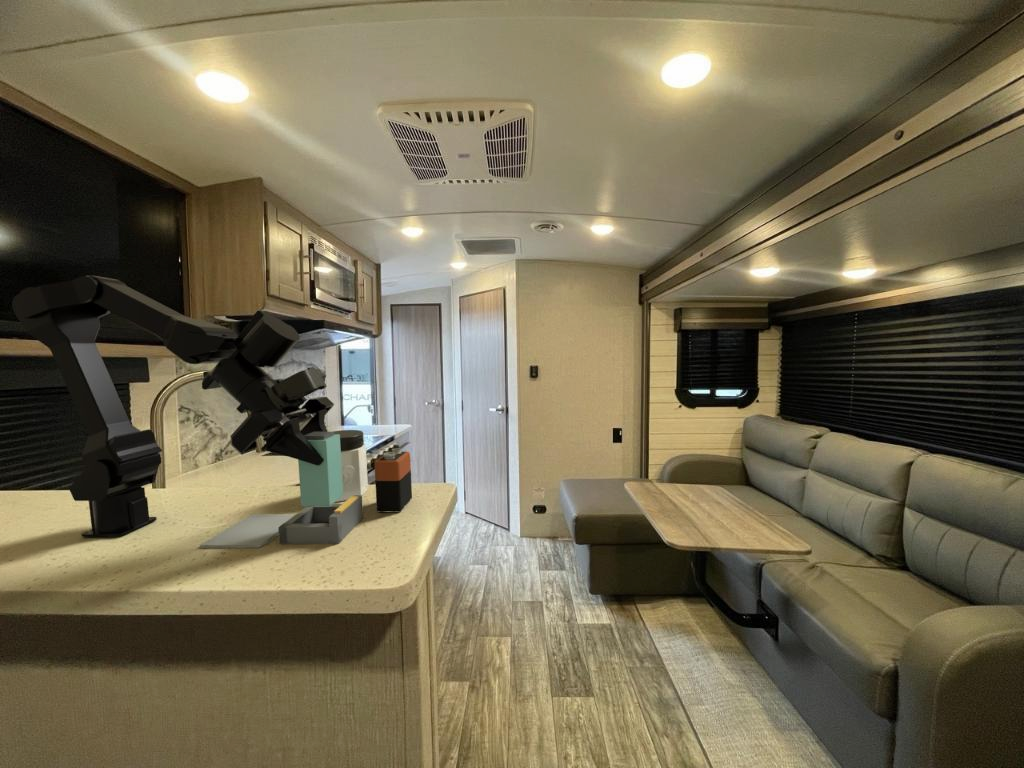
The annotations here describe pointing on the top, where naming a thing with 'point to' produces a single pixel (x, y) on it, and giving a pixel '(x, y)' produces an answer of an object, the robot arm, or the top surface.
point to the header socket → (328, 533)
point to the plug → (322, 471)
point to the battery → (393, 480)
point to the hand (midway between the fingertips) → (329, 458)
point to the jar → (353, 463)
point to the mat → (249, 532)
